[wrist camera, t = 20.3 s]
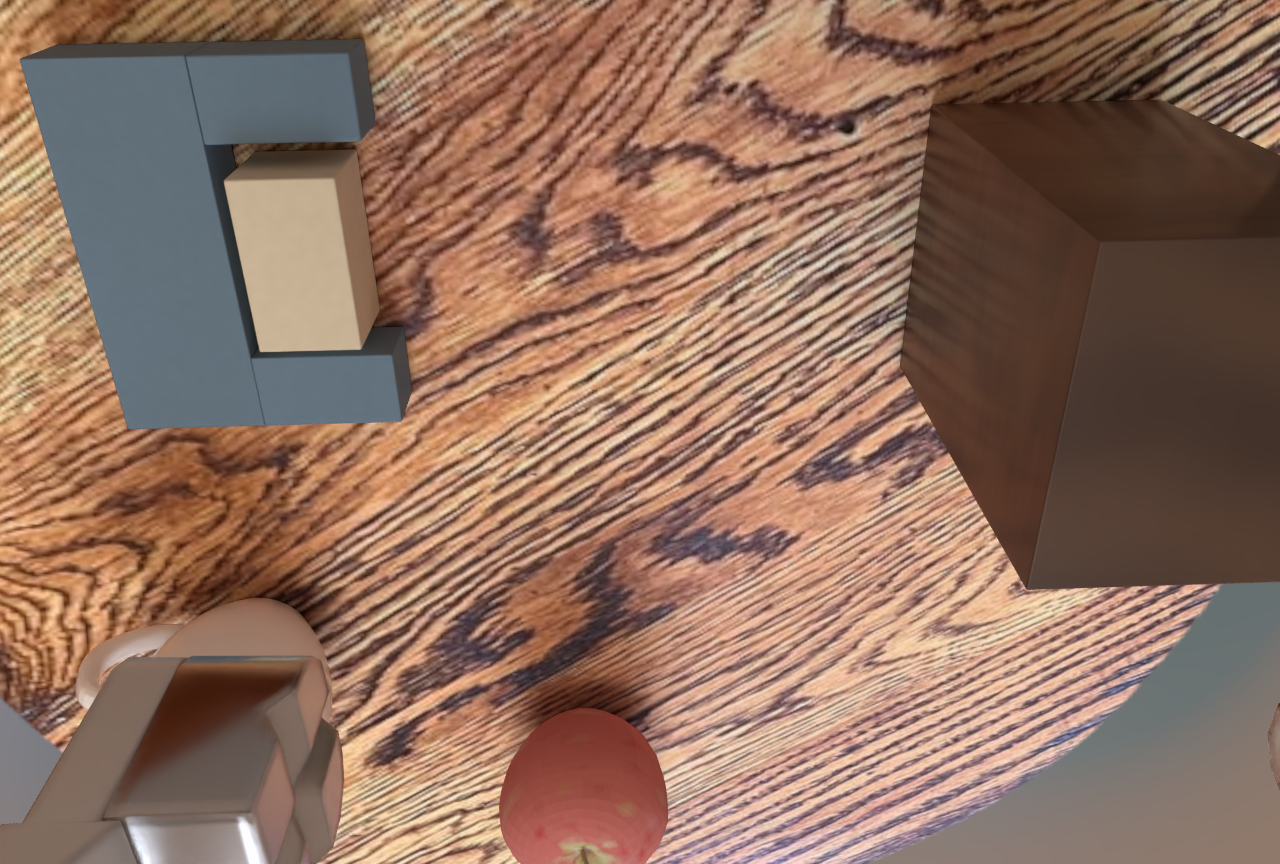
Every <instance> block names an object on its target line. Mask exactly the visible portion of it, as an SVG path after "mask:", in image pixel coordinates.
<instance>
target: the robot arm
mask: <svg viewBox="0 0 1280 864" xmlns="http://www.w3.org/2000/svg"><path fill="white" fill-rule="evenodd" d="M328 694H329V688H328V684H327V680H326V676H325V672H324V668H323V665H322V661H321V660H319V659H318V658H316V657H314V656H313V655H307V656H191V657H190V658H185V657H129V658H127V659H126V660H124V661H123V662H121V663H120V664H119V665H117V666H116V667H114V668H113V670H112V671H111V672H110V674H109V675H108V677H107V679H106V680H105V682H104V684H103V686H102V687H101V689H100V691H99V692H98V694H97V696H96V698H95V699H94V701H93V703H92V704H91V706H90V708H89V710H88V711H87V713H86V715H85V716H84V718H83V720H82V722H81V723H80V725H79V727H78V728H77V730H76V732H75V733H74V735H73V737H72V739H71V740H70V742H69V744H68V745H67V747H66V749H65V751H64V752H63V754H62V756H61V758H60V759H59V761H58V763H57V764H56V766H55V768H54V770H53V771H52V773H51V775H50V776H49V778H48V780H47V782H46V783H45V785H44V787H43V788H42V790H41V792H40V794H39V795H38V797H37V799H36V800H35V802H34V804H33V805H32V807H31V809H30V811H29V812H28V814H27V816H26V817H25V819H24V821H23V823H16V824H15V823H14V824H2V825H0V864H316V863H317V862H318V861H319V860H320V859H321V858H323V857H324V856H325V855H326V854H327V853H328V852H329V851H330V850H331V849H332V848H333V845H334V841H335V837H336V833H337V829H338V825H339V821H340V817H341V808H342V797H343V787H344V769H343V753H342V748H341V743H340V738H339V733H338V730H336V729H335V728H334V727H333V726H332V725H330V724H329V723H328V722H327V721H326V720H324V719H323V718H322V714H323V711H324V707H325V704H326V701H327V698H328ZM1268 742H1269V753H1270V764H1271V768H1272V771H1273V773H1274V776H1275V779H1276V781H1277V784H1278V786H1279V789H1280V703H1279V704H1278V706H1277V709H1276V712H1275V715H1274V718H1273V720H1272V723H1271V726H1270V729H1269V732H1268Z"/></svg>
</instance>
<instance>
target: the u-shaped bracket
mask: <svg viewBox="0 0 1280 864" xmlns="http://www.w3.org/2000/svg"><path fill="white" fill-rule="evenodd" d="M20 62H21V66H22V69H23V73H24V76H25V79H26V83H27V86H28V90H29V93H30V96H31V100H32V103H33V107H34V110H35V114H36V117H37V120H38V124H39V127H40V131H41V134H42V137H43V141H44V144H45V148H46V151H47V154H48V158H49V161H50V165H51V168H52V172H53V175H54V178H55V182H56V185H57V189H58V192H59V195H60V199H61V202H62V206H63V209H64V212H65V216H66V219H67V223H68V226H69V230H70V233H71V236H72V240H73V243H74V247H75V250H76V253H77V257H78V260H79V264H80V267H81V270H82V274H83V277H84V281H85V284H86V288H87V291H88V294H89V298H90V301H91V305H92V308H93V311H94V315H95V318H96V322H97V325H98V328H99V332H100V335H101V339H102V342H103V346H104V349H105V352H106V356H107V359H108V363H109V366H110V369H111V373H112V376H113V380H114V383H115V386H116V390H117V393H118V397H119V400H120V404H121V407H122V410H123V414H124V417H125V421H126V424H127V427H128V429H156V428H192V427H229V426H264V425H301V424H337V423H374V422H401V421H402V419H403V416H404V413H405V410H406V407H407V404H408V401H409V398H410V395H411V392H412V386H411V379H410V371H409V364H408V357H407V349H406V342H405V335H404V328H403V327H372V328H371V330H370V332H369V334H368V336H367V338H366V340H365V342H364V344H363V347H362V349H360V350H322V351H282V352H260V350H259V346H258V341H257V336H256V332H255V327H254V322H253V317H252V313H251V308H250V303H249V299H248V294H247V289H246V284H245V280H244V275H243V270H242V266H241V261H240V256H239V251H238V247H237V242H236V237H235V233H234V228H233V223H232V218H231V214H230V209H229V204H228V200H227V195H226V190H225V185H224V180H225V179H226V178H227V177H228V176H229V175H230V174H231V173H232V172H234V171H235V170H236V166H235V161H234V156H233V151H232V146H231V144H269V143H315V142H359V141H361V140H362V139H363V138H364V136H365V135H366V134H367V133H368V131H369V130H370V129H371V128H372V126H373V125H374V124H375V116H374V109H373V102H372V94H371V87H370V80H369V73H368V65H367V58H366V51H365V43H364V40H363V39H331V40H281V41H231V42H211V43H210V42H172V43H122V44H71V45H55V46H52V47H50V48H47V49H44V50H42V51H39V52H36V53H34V54H31V55H28V56H26V57H23V58H21V59H20Z"/></svg>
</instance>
